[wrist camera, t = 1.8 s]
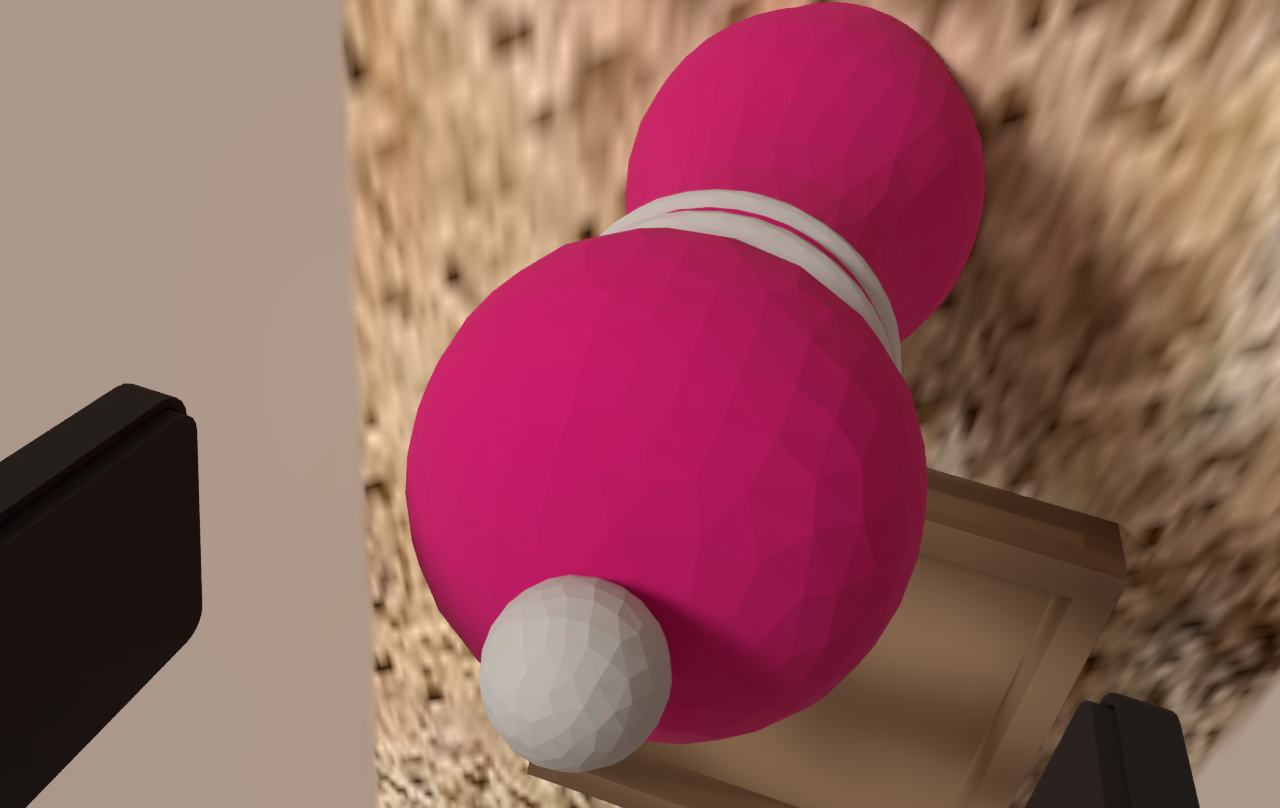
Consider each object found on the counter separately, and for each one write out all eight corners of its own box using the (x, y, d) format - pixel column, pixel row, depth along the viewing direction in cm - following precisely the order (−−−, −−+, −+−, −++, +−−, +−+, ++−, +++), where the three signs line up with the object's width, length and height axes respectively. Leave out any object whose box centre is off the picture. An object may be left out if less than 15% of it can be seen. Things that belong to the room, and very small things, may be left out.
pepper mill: (1033, 22, 24) (1151, 550, 7) (926, 313, 28) (834, 1114, 11) (717, -57, 25) (153, 239, 8) (655, 234, 29) (180, 854, 12)
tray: (617, 376, 31) (589, 418, 29) (1117, 524, 29) (1128, 580, 27) (552, 720, 38) (527, 773, 36) (950, 856, 36) (948, 922, 34)
